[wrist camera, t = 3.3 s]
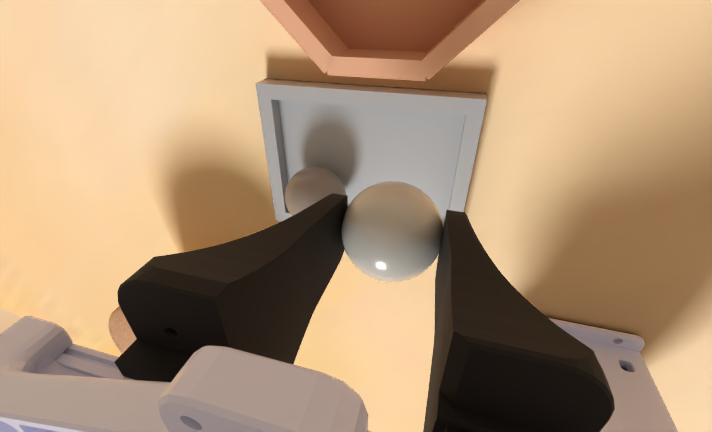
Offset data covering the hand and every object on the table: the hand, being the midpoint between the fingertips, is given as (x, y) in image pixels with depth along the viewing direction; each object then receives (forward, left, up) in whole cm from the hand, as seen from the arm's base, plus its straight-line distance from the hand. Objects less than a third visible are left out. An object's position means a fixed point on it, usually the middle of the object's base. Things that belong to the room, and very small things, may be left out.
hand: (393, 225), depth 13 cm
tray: (+3, +1, -8) cm, 9 cm away
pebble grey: (0, 0, -1) cm, 1 cm away
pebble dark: (+6, +3, -8) cm, 10 cm away
